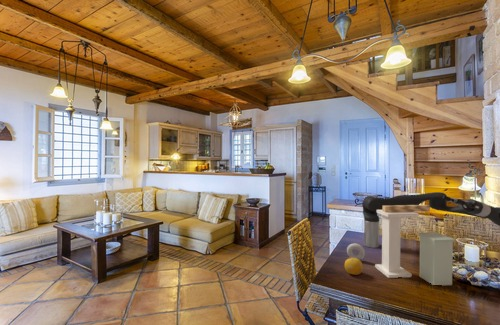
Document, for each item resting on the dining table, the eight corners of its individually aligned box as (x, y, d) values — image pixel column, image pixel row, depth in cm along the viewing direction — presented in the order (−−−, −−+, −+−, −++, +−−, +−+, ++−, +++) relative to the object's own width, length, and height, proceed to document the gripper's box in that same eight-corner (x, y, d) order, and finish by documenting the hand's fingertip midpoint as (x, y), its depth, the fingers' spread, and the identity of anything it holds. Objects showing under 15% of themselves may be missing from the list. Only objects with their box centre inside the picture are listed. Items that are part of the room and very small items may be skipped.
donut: (346, 259, 144) (346, 243, 144) (347, 257, 147) (347, 241, 147) (365, 263, 139) (365, 245, 139) (365, 260, 142) (365, 243, 142)
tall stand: (403, 266, 135) (403, 208, 134) (419, 276, 123) (420, 213, 122) (375, 267, 134) (375, 209, 133) (388, 277, 122) (389, 214, 121)
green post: (436, 275, 125) (437, 232, 124) (454, 285, 115) (454, 239, 114) (417, 275, 124) (418, 233, 124) (433, 286, 114) (434, 239, 114)
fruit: (344, 275, 125) (344, 260, 125) (344, 268, 132) (344, 254, 132) (363, 278, 122) (363, 263, 122) (362, 271, 129) (362, 256, 129)
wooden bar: (426, 210, 130) (426, 204, 130) (429, 211, 127) (429, 205, 127) (382, 211, 129) (382, 205, 129) (385, 212, 126) (385, 206, 126)
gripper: (467, 198, 140) (441, 190, 139) (492, 204, 126) (464, 195, 125) (462, 210, 141) (436, 202, 140) (487, 218, 127) (459, 208, 126)
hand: (449, 198), depth 133 cm, fingers open, 8 cm apart
